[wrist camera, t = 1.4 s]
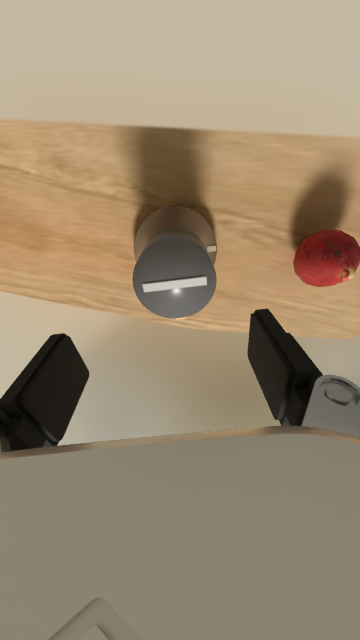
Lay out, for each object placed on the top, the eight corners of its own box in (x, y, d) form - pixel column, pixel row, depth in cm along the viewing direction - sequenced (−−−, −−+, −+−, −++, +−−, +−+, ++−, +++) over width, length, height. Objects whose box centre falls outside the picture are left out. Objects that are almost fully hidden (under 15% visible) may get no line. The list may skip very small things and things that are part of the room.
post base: (213, 199, 22) (221, 203, 18) (215, 281, 27) (222, 299, 23) (126, 211, 23) (115, 218, 18) (145, 289, 28) (140, 308, 24)
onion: (278, 238, 24) (315, 259, 18) (329, 214, 23) (391, 228, 16) (286, 279, 27) (321, 310, 21) (332, 260, 26) (386, 287, 19)
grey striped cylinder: (206, 222, 19) (215, 235, 14) (210, 298, 23) (217, 325, 19) (134, 232, 19) (121, 247, 15) (151, 305, 24) (145, 332, 19)
